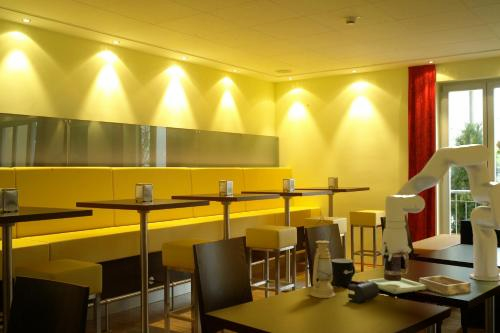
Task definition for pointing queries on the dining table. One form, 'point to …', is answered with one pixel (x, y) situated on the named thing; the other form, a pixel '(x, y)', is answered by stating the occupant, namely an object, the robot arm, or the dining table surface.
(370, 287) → the end cap
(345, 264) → the mug
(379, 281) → the tray
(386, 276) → the mug
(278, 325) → the dining table surface
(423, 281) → the tray
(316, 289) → the lantern
